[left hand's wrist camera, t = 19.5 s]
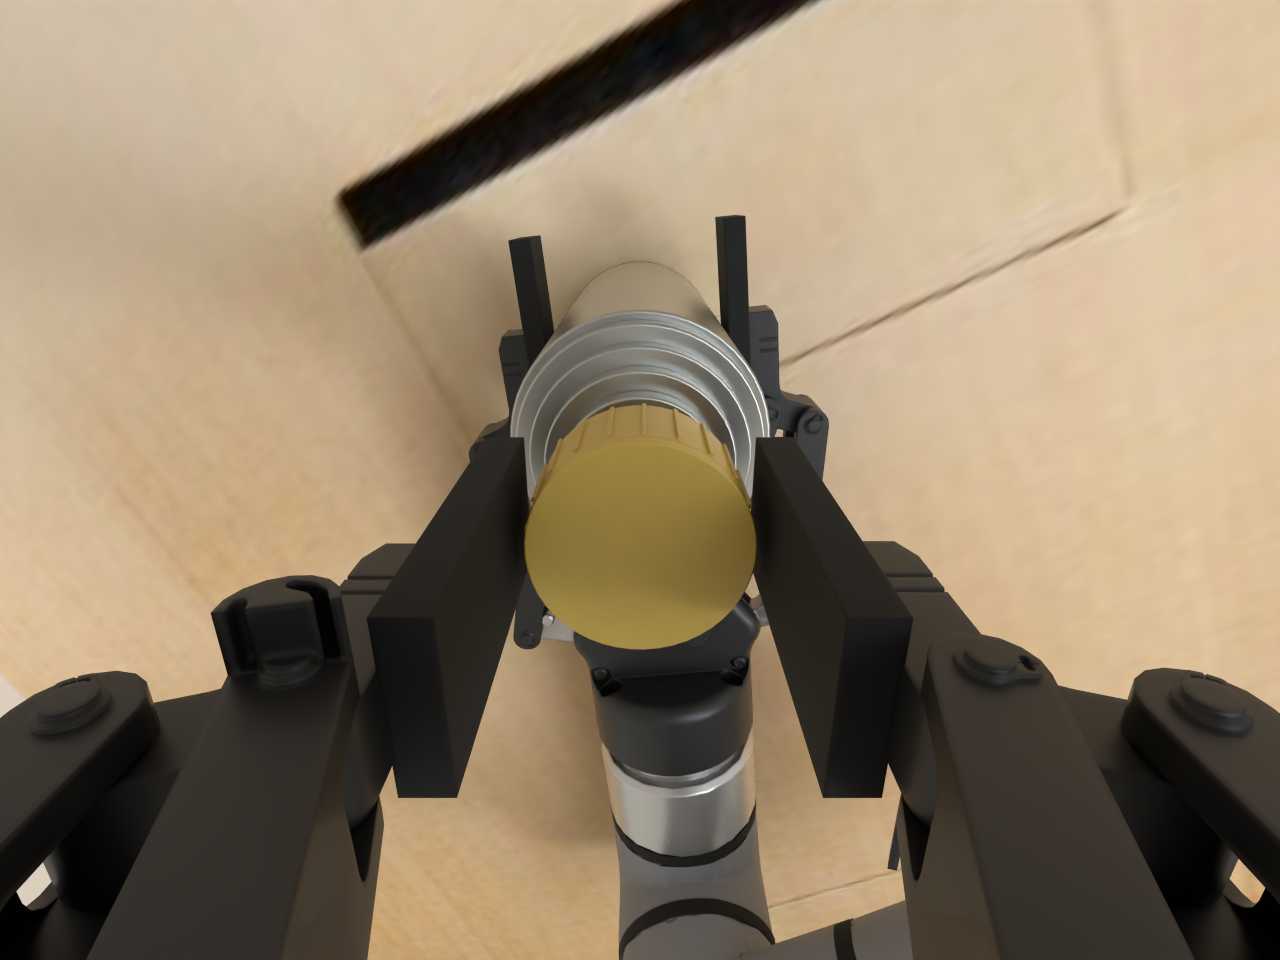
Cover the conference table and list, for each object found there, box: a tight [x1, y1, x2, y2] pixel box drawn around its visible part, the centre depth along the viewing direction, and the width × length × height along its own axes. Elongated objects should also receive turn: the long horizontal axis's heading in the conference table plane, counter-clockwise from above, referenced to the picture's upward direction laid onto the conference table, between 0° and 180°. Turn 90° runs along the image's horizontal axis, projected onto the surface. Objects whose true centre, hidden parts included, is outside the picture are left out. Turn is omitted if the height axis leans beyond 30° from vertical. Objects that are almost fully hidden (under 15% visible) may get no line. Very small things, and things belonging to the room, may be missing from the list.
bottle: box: [510, 262, 770, 503], centre depth 22 cm, size 7×7×21 cm
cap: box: [524, 403, 757, 649], centre depth 13 cm, size 4×4×2 cm
